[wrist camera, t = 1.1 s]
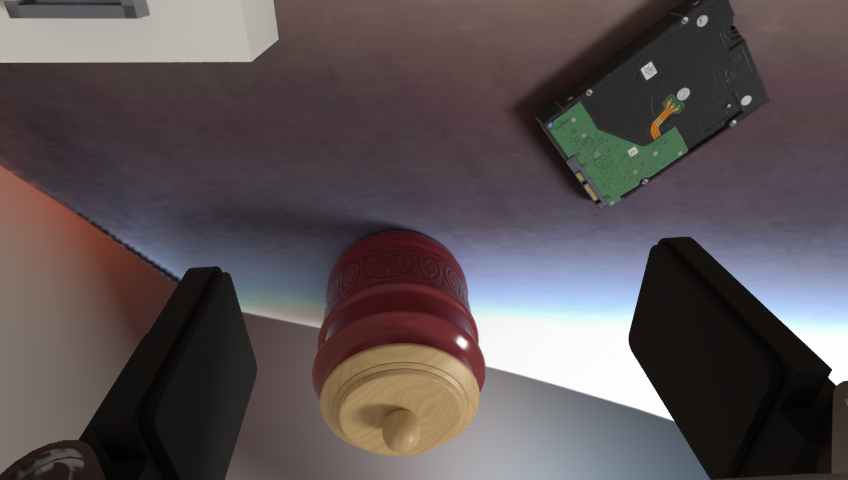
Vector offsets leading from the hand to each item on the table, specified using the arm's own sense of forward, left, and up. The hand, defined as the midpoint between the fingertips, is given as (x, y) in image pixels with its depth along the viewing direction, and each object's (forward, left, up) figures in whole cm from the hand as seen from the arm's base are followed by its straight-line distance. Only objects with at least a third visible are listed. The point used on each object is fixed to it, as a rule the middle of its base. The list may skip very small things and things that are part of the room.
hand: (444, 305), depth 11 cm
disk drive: (+4, +19, -29) cm, 35 cm away
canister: (+21, -1, -29) cm, 36 cm away
